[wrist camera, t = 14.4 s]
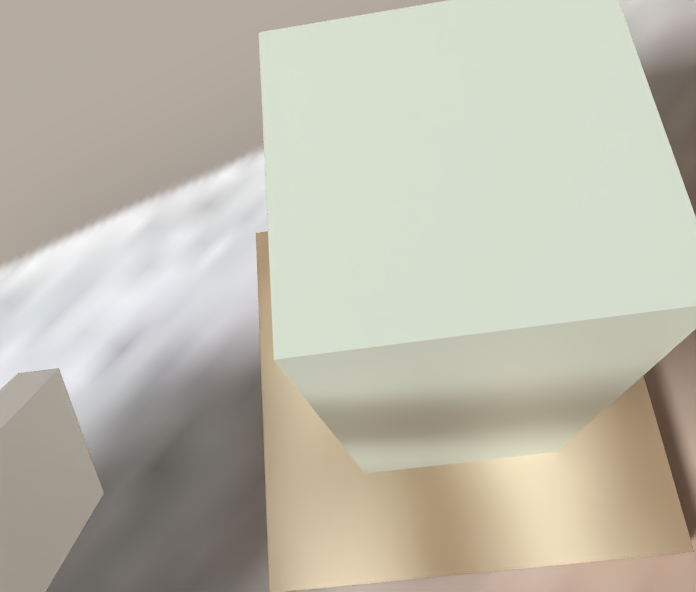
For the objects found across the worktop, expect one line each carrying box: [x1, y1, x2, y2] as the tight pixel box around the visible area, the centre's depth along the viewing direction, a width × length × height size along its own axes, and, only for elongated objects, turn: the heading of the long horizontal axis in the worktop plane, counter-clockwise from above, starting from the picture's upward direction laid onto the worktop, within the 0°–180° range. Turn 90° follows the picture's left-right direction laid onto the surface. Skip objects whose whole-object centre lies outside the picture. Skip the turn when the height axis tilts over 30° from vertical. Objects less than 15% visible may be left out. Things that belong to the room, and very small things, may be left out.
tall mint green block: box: [259, 0, 696, 473], centre depth 15 cm, size 6×6×12 cm
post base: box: [256, 231, 694, 592], centre depth 18 cm, size 12×12×8 cm
